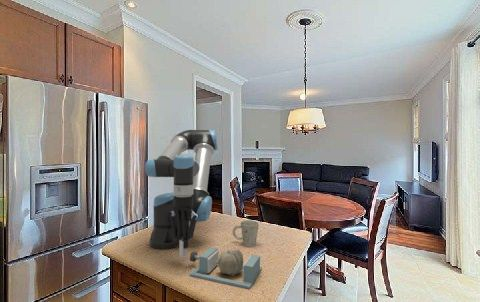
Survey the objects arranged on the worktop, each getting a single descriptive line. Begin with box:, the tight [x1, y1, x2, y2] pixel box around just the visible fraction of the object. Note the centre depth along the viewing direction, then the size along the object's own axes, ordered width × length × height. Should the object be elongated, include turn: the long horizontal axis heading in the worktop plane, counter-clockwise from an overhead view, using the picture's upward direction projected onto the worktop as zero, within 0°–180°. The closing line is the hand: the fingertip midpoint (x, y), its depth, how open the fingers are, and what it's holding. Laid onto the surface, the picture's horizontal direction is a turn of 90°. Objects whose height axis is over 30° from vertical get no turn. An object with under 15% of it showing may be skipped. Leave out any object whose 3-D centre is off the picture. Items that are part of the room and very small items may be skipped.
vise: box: [189, 254, 263, 290], centre depth 89 cm, size 22×14×6 cm, turn 69°
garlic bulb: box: [216, 248, 244, 277], centre depth 88 cm, size 9×8×10 cm
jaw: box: [189, 246, 220, 275], centre depth 92 cm, size 9×9×6 cm
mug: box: [232, 220, 260, 247], centre depth 116 cm, size 8×13×10 cm, turn 78°
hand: (183, 256), depth 95 cm, fingers closed
